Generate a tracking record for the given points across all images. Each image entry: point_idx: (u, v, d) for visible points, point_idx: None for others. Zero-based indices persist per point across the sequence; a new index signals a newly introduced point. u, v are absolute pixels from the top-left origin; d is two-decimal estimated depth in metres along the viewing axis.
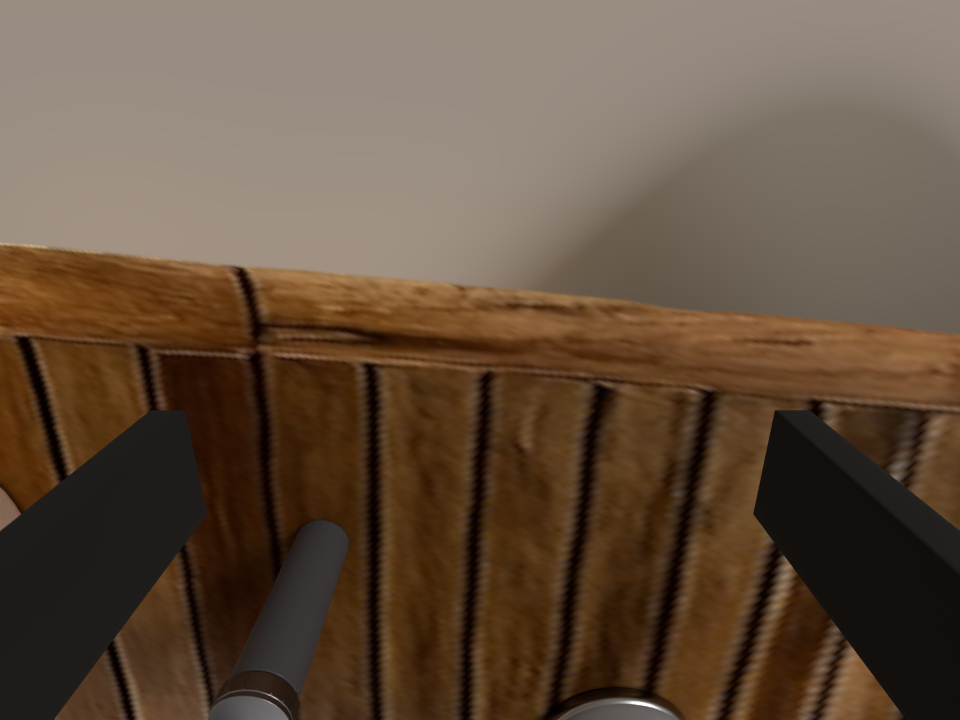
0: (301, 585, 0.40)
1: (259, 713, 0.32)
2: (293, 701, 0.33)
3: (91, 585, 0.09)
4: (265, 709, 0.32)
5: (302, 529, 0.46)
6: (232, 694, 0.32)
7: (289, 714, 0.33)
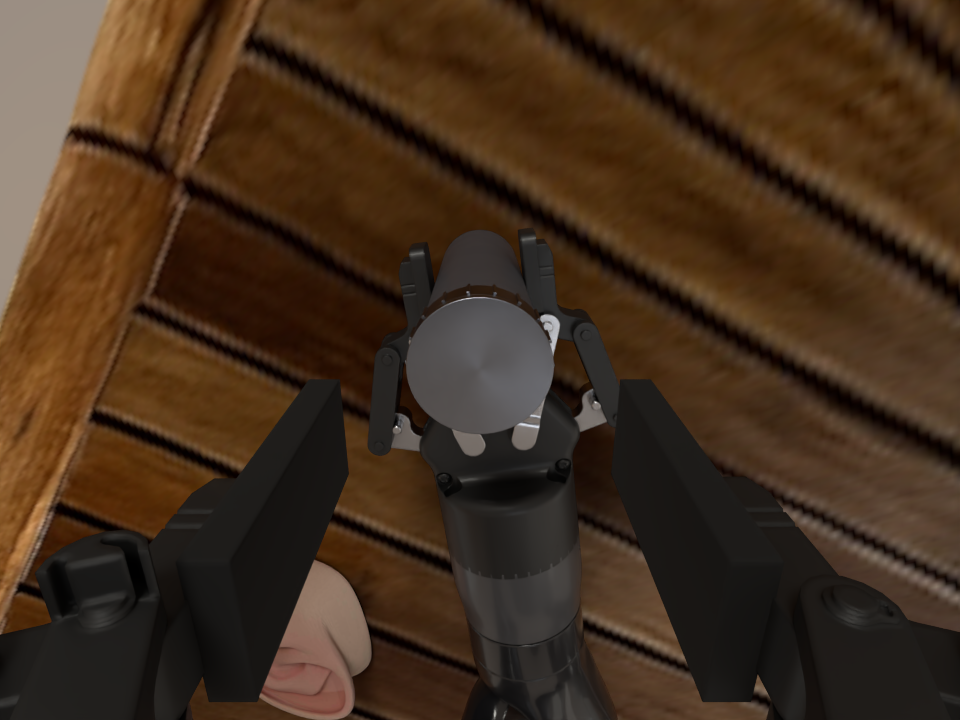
0: (444, 267, 0.26)
1: (461, 336, 0.18)
2: (493, 290, 0.18)
3: (301, 519, 0.11)
4: (457, 321, 0.18)
5: None
6: None
7: (496, 297, 0.18)
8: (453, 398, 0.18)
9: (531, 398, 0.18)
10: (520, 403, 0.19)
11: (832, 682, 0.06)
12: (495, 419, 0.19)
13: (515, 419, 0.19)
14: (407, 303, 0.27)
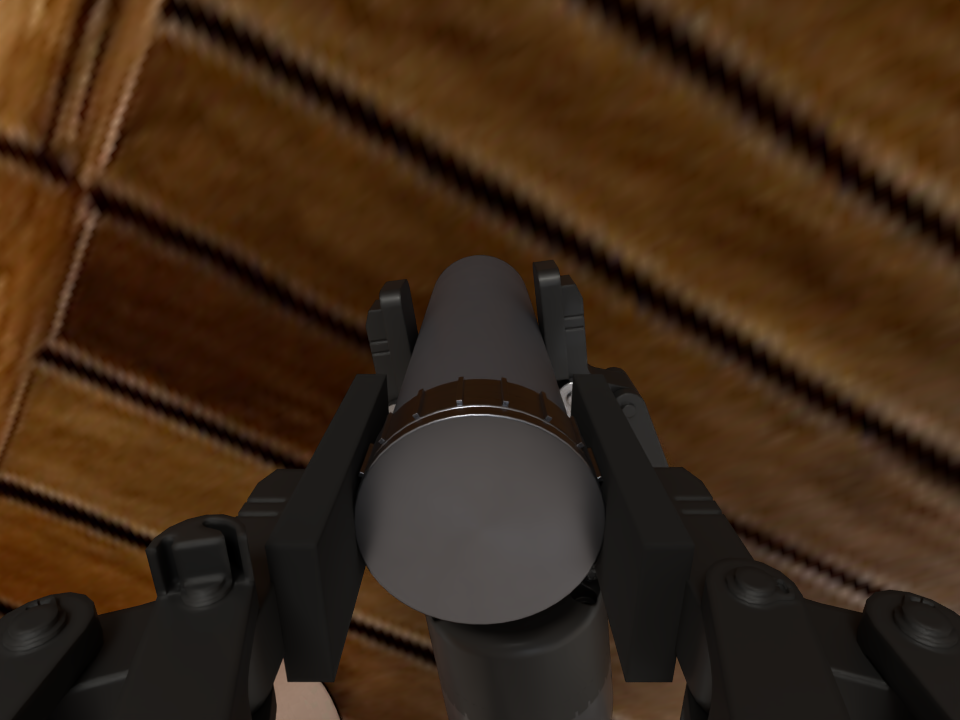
0: (430, 317, 0.18)
1: (446, 477, 0.10)
2: (503, 391, 0.11)
3: None
4: (440, 454, 0.10)
5: None
6: None
7: (509, 411, 0.10)
8: (435, 572, 0.11)
9: (566, 572, 0.11)
10: (548, 580, 0.11)
11: (733, 662, 0.06)
12: (505, 603, 0.11)
13: (539, 604, 0.11)
14: (378, 365, 0.19)
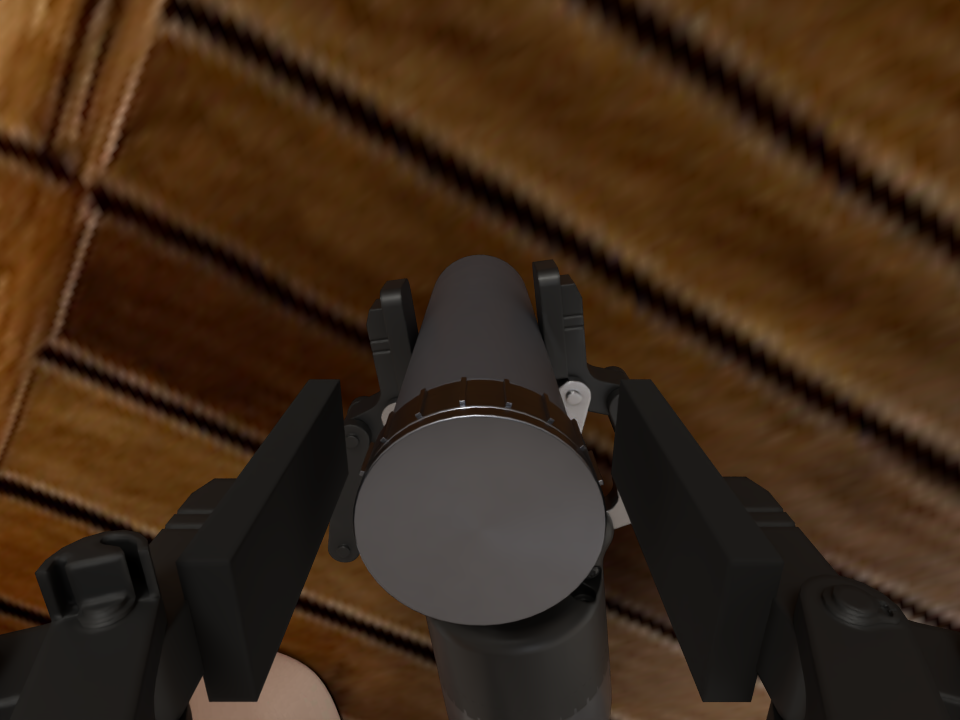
0: (430, 316, 0.18)
1: (412, 526, 0.10)
2: (388, 427, 0.11)
3: (301, 519, 0.11)
4: (387, 518, 0.10)
5: None
6: None
7: (386, 444, 0.10)
8: (502, 583, 0.11)
9: (577, 487, 0.10)
10: (574, 506, 0.10)
11: (832, 682, 0.06)
12: (575, 550, 0.11)
13: (595, 526, 0.10)
14: (379, 364, 0.19)
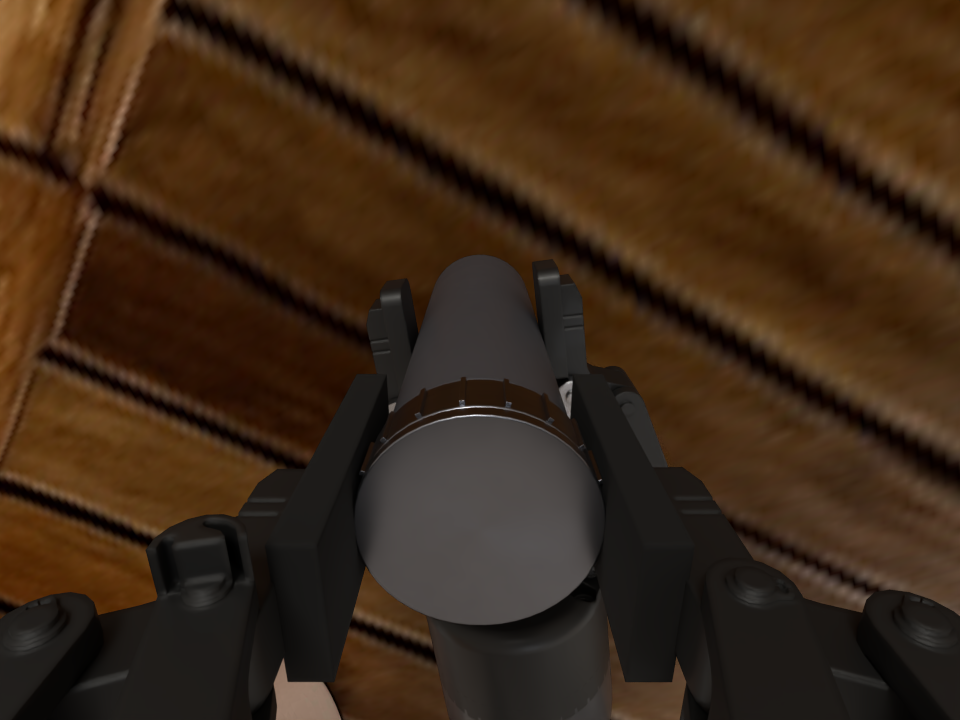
0: (430, 316, 0.18)
1: (412, 526, 0.10)
2: (388, 427, 0.11)
3: None
4: (387, 518, 0.10)
5: None
6: None
7: (385, 444, 0.10)
8: (502, 583, 0.11)
9: (577, 487, 0.10)
10: (574, 506, 0.10)
11: (733, 663, 0.06)
12: (575, 550, 0.11)
13: (595, 526, 0.10)
14: (379, 364, 0.19)
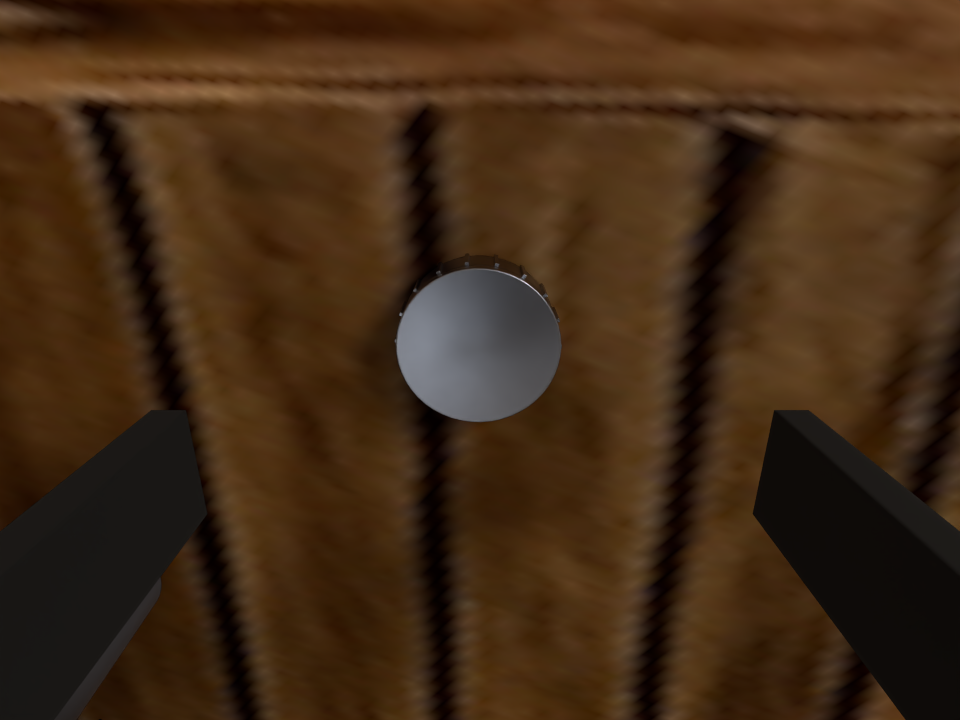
0: None
1: (434, 347, 0.16)
2: (417, 286, 0.16)
3: (91, 584, 0.09)
4: (418, 342, 0.16)
5: None
6: None
7: (417, 292, 0.16)
8: (493, 389, 0.17)
9: (541, 319, 0.16)
10: (540, 332, 0.16)
11: None
12: (541, 365, 0.16)
13: (553, 347, 0.16)
14: None
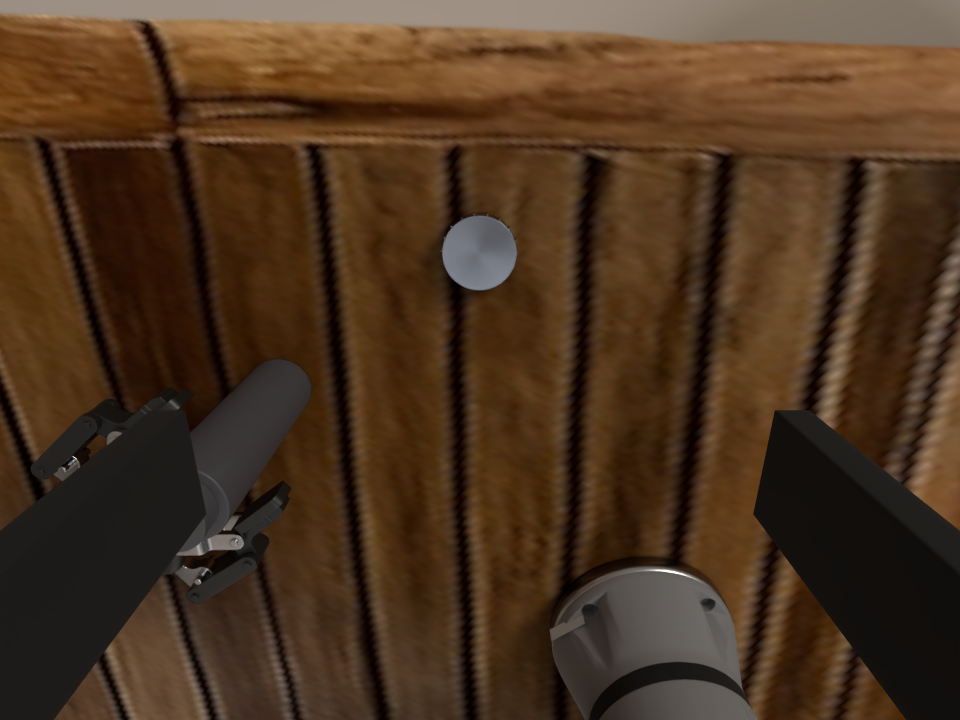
0: (243, 403, 0.33)
1: (459, 252, 0.36)
2: (451, 226, 0.36)
3: (91, 585, 0.09)
4: (452, 250, 0.36)
5: (254, 369, 0.40)
6: None
7: (452, 227, 0.35)
8: (486, 273, 0.36)
9: (507, 239, 0.35)
10: (507, 245, 0.36)
11: None
12: (507, 261, 0.36)
13: (513, 252, 0.36)
14: (137, 414, 0.33)
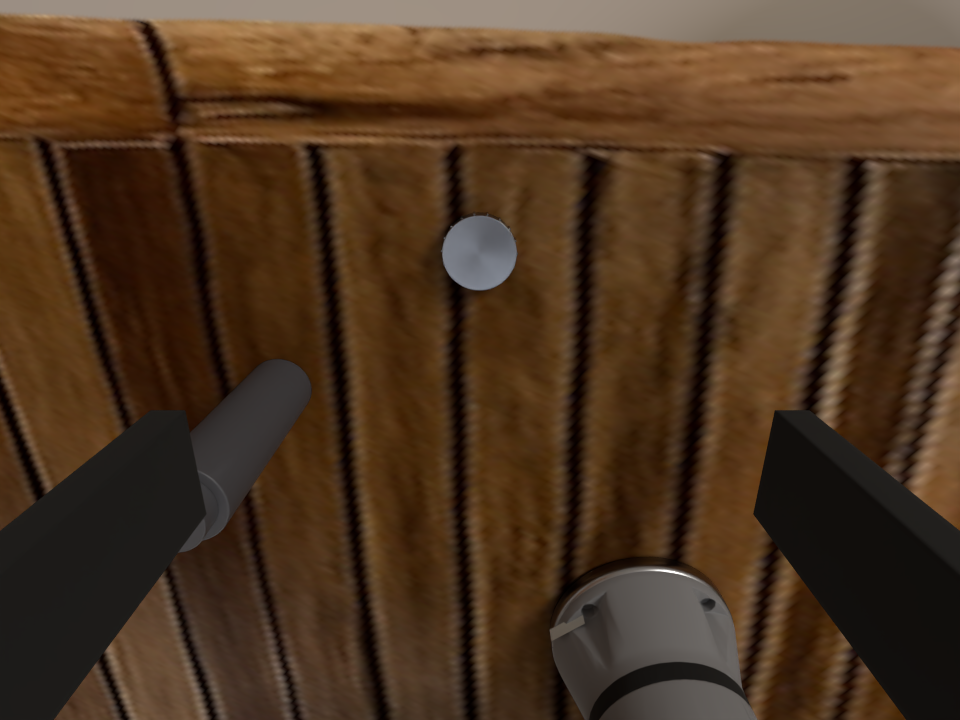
0: (243, 403, 0.33)
1: (459, 252, 0.36)
2: (451, 226, 0.36)
3: (91, 585, 0.09)
4: (452, 250, 0.36)
5: (254, 369, 0.40)
6: None
7: (452, 227, 0.35)
8: (486, 273, 0.36)
9: (507, 239, 0.35)
10: (507, 245, 0.36)
11: None
12: (507, 261, 0.36)
13: (513, 252, 0.36)
14: None
